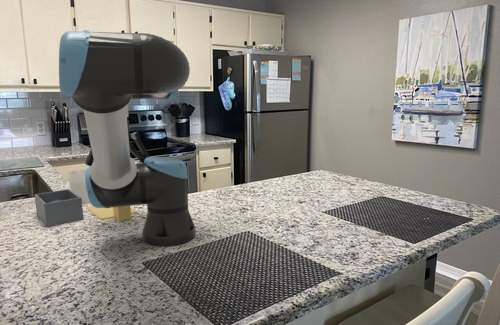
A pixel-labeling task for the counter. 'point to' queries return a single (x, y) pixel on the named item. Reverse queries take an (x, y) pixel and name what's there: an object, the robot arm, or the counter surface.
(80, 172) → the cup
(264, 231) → the counter surface
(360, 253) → the counter surface
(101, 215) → the lid
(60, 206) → the tub
